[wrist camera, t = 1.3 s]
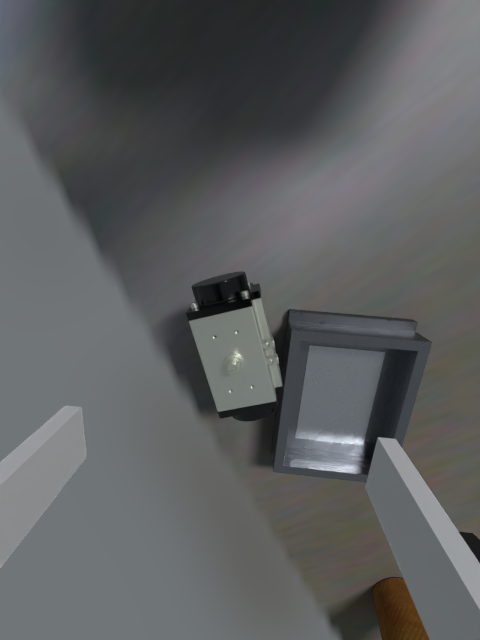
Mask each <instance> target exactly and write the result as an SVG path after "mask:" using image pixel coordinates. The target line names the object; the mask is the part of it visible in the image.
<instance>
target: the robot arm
mask: <svg viewBox="0 0 480 640" xmlns="http://www.w3.org/2000/svg"><path fill="white" fill-rule="evenodd" d="M86 458H87V453H86V444H85V434H84V425H83V415H82V408H81V407H74V406H64V407H63V408H62V409H61V410H60V411H58V412H57V413H56V414H55V415H54V416H53V417H52V418H50V419H49V420H48V421H47V422H46V423H45V424H44V425H42V426H41V427H40V428H39V429H38V430H37V431H35V432H34V433H33V434H32V435H31V436H30V437H29V438H27V439H26V440H25V441H24V442H23V443H22V444H21V445H19V446H18V447H17V448H16V449H15V450H14V451H13V452H11V453H10V454H9V455H8V456H7V457H6V458H5V459H3V460H2V461H1V462H0V568H1V567H2V565H3V564H4V563H5V562H6V560H7V559H8V558H9V556H10V555H11V554H12V553H13V551H14V550H15V549H16V547H17V546H18V545H19V544H20V542H21V541H22V539H23V538H24V537H25V536H26V535H27V533H28V532H29V531H30V529H31V528H32V527H33V526H34V524H35V523H36V522H37V520H38V519H39V518H40V517H41V515H42V514H43V513H44V511H45V510H46V509H47V508H48V506H49V505H50V504H51V503H52V501H53V500H54V499H55V497H56V496H57V495H58V494H59V492H60V491H61V490H62V488H63V487H64V486H65V484H66V483H67V482H68V481H69V480H70V478H71V477H72V476H73V474H74V473H75V472H76V471H77V469H78V468H79V467H80V465H81V464H82V463H83V462H84V460H85V459H86ZM365 488H366V491H367V493H368V495H369V498H370V500H371V503H372V505H373V507H374V510H375V512H376V514H377V517H378V519H379V521H380V524H381V526H382V529H383V531H384V533H385V536H386V538H387V540H388V543H389V545H390V547H391V550H392V552H393V555H394V557H395V559H396V562H397V564H398V566H399V569H400V571H401V574H402V576H403V578H404V581H405V583H406V585H407V588H408V590H409V592H410V595H411V597H412V600H413V602H414V604H415V607H416V609H417V611H418V614H419V616H420V618H421V621H422V623H423V626H424V628H425V630H426V633H427V635H428V637H429V640H480V540H479V539H478V538H477V537H476V536H475V535H474V534H473V533H465V532H458V530H457V529H456V527H455V526H454V524H453V523H452V521H451V520H450V518H449V517H448V516H447V514H446V513H445V511H444V510H443V508H442V507H441V505H440V504H439V502H438V501H437V499H436V498H435V496H434V495H433V493H432V492H431V490H430V489H429V487H428V486H427V484H426V483H425V481H424V480H423V479H422V477H421V476H420V474H419V473H418V471H417V470H416V468H415V467H414V465H413V464H412V462H411V461H410V459H409V458H408V456H407V455H406V453H405V452H404V450H403V449H402V447H401V446H400V444H399V443H398V441H397V440H396V439H391V438H381V437H378V438H377V442H376V446H375V450H374V454H373V458H372V462H371V466H370V470H369V474H368V478H367V482H366V486H365Z"/></svg>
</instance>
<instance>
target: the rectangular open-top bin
mask: <svg viewBox="0 0 480 640" xmlns="http://www.w3.org/2000/svg"><path fill="white" fill-rule="evenodd" d="M417 323H418V322H416V321H414V320H411V319H399V318H388V317H376V316H364V315H352V314H340V313H328V312H316V311H305V310H293V309H289V313H288V321H287V329H286V337H285V345H284V353H283V361H282V369H281V376H282V383H283V390H284V392H283V393H279V394H278V401H277V402H278V408H277V409H276V417H275V425H274V433H273V441H272V449H271V459H273V472H278V473H287V474H296V475H305V476H314V477H323V478H332V479H341V480H350V481H359V482H367V478H368V474H369V470H370V466H371V462H372V458H373V454H374V450H375V446H376V442H377V438H378V437H381V438H391V439H396V440H397V441H398V443H399V444H400V446H401V447H402V444H403V441H404V437H405V434H406V430H407V427H408V423H409V420H410V416H411V413H412V410H413V406H414V403H415V399H416V396H417V392H418V389H419V385H420V382H421V378H422V375H423V372H424V368H425V365H426V361H427V358H428V354H429V351H430V347H431V344H432V342H431V341H429V340H428V339H426V338H424V337H423V336H421V335H420V334H418V333H416V332H415V330H416V326H417Z"/></svg>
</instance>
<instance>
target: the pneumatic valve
mask: <svg viewBox="0 0 480 640" xmlns="http://www.w3.org/2000/svg"><path fill="white" fill-rule="evenodd" d="M192 291H193V294H194V297H195V300H196V303H192V304H190V306H191V308H190V309H189V311H188V312H187V313H186V314H187V318H188V321H189V324H190V327H191V330H192V333H193V336H194V339H195V342H196V346H197V349H198V352H199V355H200V358H201V361H202V364H203V367H204V370H205V374H206V377H207V380H208V383H209V386H210V389H211V392H212V395H213V399H214V402H215V405H216V408H217V411H218V414H219V417H220V418H225V417H230V416H232V417H233V418H235V419H236V420H239V421H254V420H258V419H261V418H263V417H265V416H267V415H269V414H270V413H271V412H272V411H273V410H274V409H275V408H278V402H277V394H279V393H283V392H284V390H283V383H282V376H281V372H280V368H279V360H278V355H277V354H276V351H275V343H274V339H273V338H272V334H271V330H270V326H269V322H268V318H267V313H266V309H265V305H264V301H263V297H262V293H261V289H260V284H255V285H253V283H251V284H250V282H248V281H247V277H246V273H245V272H234V273H229V274H224V275H220V276H217V277H213V278H210V279H207V280H204V281H201V282H198V283H196V284H194V285H193V286H192Z"/></svg>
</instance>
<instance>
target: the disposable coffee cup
mask: <svg viewBox="0 0 480 640" xmlns="http://www.w3.org/2000/svg"><path fill="white" fill-rule="evenodd" d="M372 594H373V599H374V603H375V608H376V613H377V618H378V623H379V627H380V632H381V637H382V640H429V637H428V635H427V633H426V630H425V628H424V626H423V623H422V621H421V618H420V616H419V614H418V611H417V609H416V607H415V604H414V602H413V600H412V597H411V595H410V592H409V590H408V588H407V585H406V583H405V581H404V579H402V578H388V579H385V580H382V581H380V582H379V583H377V584H376V585H375V586H374V588H373V591H372Z"/></svg>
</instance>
